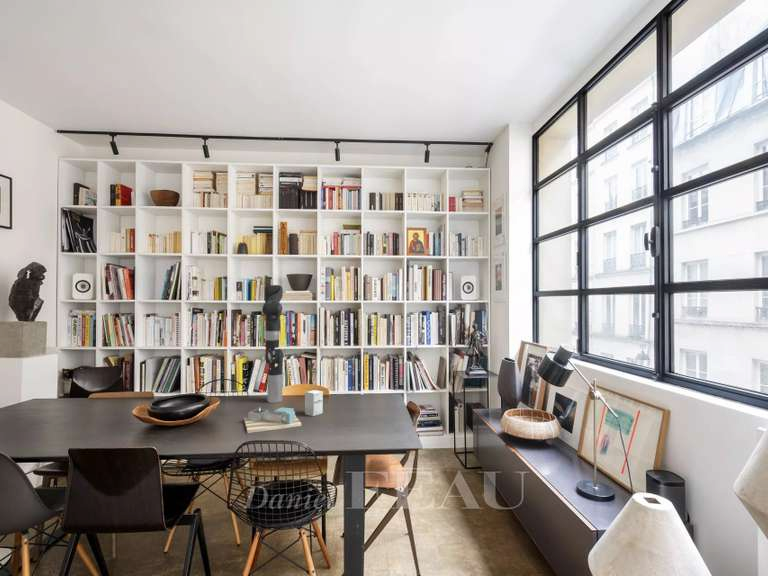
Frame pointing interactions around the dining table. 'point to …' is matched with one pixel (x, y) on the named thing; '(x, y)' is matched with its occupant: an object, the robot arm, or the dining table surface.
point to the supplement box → (313, 402)
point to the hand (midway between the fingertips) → (272, 368)
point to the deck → (268, 425)
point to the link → (266, 416)
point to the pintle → (258, 409)
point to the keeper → (287, 414)
